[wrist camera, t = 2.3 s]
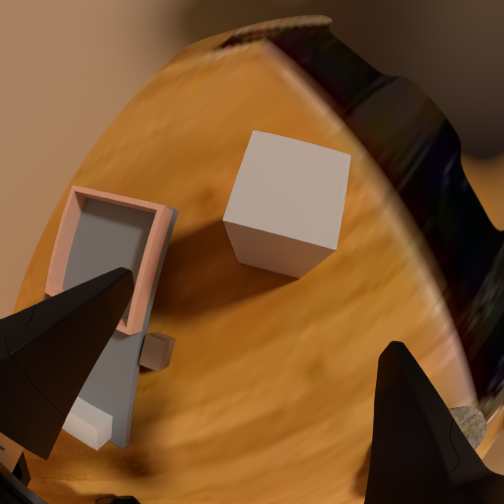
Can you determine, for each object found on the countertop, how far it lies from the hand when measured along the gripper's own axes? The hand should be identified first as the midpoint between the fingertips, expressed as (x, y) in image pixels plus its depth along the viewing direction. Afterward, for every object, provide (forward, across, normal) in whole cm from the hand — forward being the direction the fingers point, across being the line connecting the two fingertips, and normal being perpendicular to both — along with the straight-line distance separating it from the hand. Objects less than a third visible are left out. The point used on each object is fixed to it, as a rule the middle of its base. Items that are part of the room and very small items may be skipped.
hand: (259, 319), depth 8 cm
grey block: (+13, 0, +5) cm, 14 cm away
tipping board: (+4, +12, +11) cm, 17 cm away
